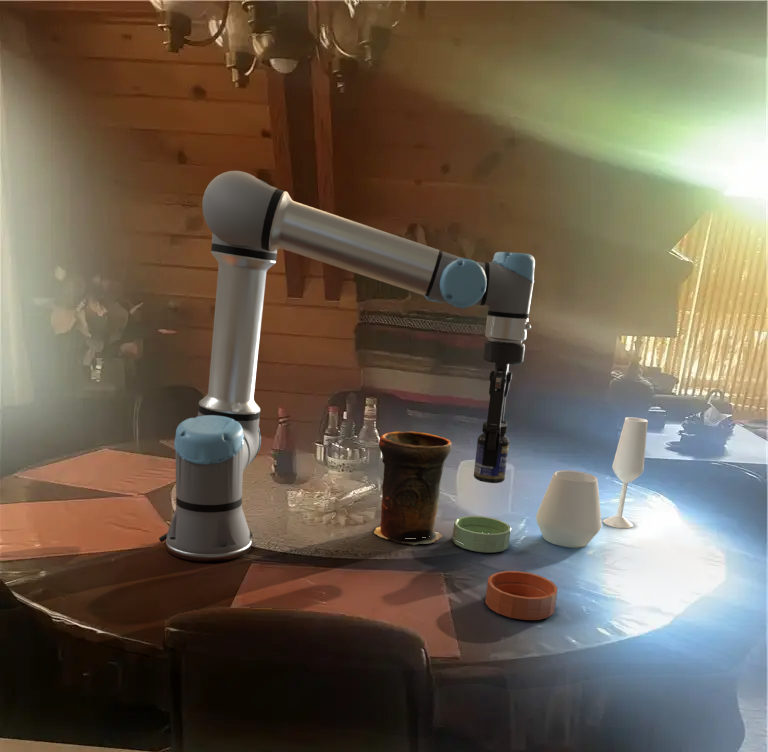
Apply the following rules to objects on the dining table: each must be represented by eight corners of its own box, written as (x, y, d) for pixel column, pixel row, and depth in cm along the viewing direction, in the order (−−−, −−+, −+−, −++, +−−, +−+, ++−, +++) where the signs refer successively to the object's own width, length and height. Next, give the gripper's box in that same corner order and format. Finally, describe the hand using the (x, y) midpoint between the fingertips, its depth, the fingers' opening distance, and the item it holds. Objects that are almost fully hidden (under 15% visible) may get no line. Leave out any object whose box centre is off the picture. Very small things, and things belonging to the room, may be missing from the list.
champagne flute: (631, 530, 168) (650, 424, 161) (600, 524, 171) (618, 419, 163) (635, 522, 174) (654, 419, 167) (605, 516, 177) (623, 415, 169)
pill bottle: (503, 485, 145) (510, 428, 141) (471, 481, 146) (478, 425, 142) (505, 477, 150) (512, 422, 147) (474, 473, 151) (480, 419, 148)
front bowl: (482, 615, 120) (485, 592, 119) (488, 588, 131) (490, 567, 129) (553, 626, 118) (557, 603, 117) (553, 598, 129) (557, 576, 127)
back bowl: (449, 548, 148) (451, 529, 147) (456, 531, 158) (458, 513, 157) (506, 557, 146) (509, 537, 145) (509, 538, 156) (512, 520, 155)
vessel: (422, 520, 164) (431, 429, 158) (454, 542, 152) (465, 445, 146) (361, 524, 158) (368, 430, 152) (389, 548, 146) (398, 447, 140)
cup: (521, 537, 158) (530, 473, 153) (552, 524, 168) (561, 464, 163) (580, 556, 150) (591, 488, 145) (609, 541, 160) (620, 478, 155)
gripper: (523, 346, 130) (507, 476, 137) (527, 338, 148) (512, 453, 155) (480, 342, 132) (466, 470, 139) (489, 335, 149) (476, 449, 157)
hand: (490, 461), depth 147 cm, fingers closed on pill bottle, 6 cm apart
